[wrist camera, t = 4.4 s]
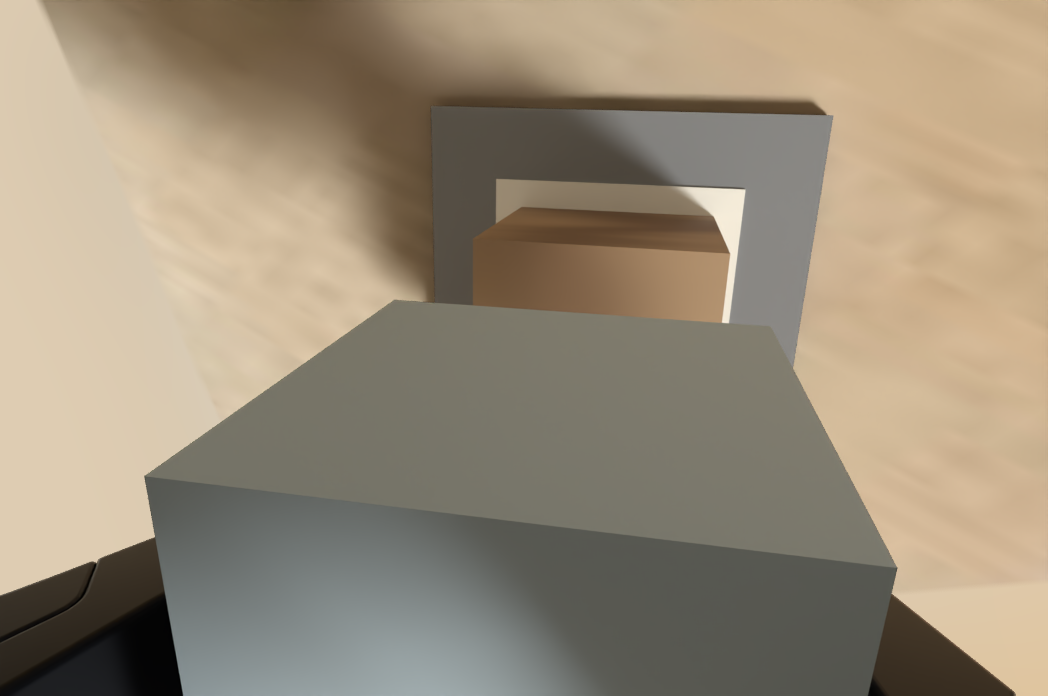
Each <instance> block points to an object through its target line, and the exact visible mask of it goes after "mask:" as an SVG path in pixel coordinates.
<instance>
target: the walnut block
mask: <svg viewBox="0 0 1048 696" xmlns="http://www.w3.org/2000/svg"><path fill="white" fill-rule="evenodd" d="M729 260H730V252H729V250H728V247H727V245H726V243H725V241H724V238H723V236H722V234H721V232H720V230H719V227H718V225H717V223H716V221H715V218H714V216H696V215H675V214H655V213H635V212H614V211H594V210H574V209H553V208H533V207H521V208H519V209H518V210H516V211H515V212H513V213H511V214H510V215H508V216H507V217H505V218H504V219H502V220H501V221H499V222H498V223H496V224H495V225H493V226H492V227H490V228H489V229H487V230H486V231H484V232H482V233H481V234H479V235H478V236H476V237H475V238H473V305H474V306H488V307H502V308H516V309H531V310H545V311H559V312H573V313H588V314H602V315H616V316H630V317H645V318H659V319H673V320H687V321H702V322H716V323H722V318H723V310H724V302H725V293H726V285H727V277H728V269H729Z"/></svg>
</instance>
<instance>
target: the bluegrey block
mask: <svg viewBox="0 0 1048 696" xmlns="http://www.w3.org/2000/svg"><path fill="white" fill-rule="evenodd" d="M145 483H146V488H147V493H148V499H149V505H150V511H151V516H152V521H153V527H154V533H155V539H156V545H157V550H158V556H159V562H160V567H161V573H162V578H163V584H164V590H165V595H166V601H167V607H168V612H169V618H170V624H171V629H172V635H173V640H174V646H175V652H176V657H177V663H178V669H179V674H180V680H181V686H182V691H183V696H868V692H869V688H870V684H871V679H872V675H873V671H874V666H875V662H876V658H877V653H878V649H879V645H880V641H881V636H882V632H883V628H884V623H885V619H886V615H887V610H888V606H889V602H890V598H891V593H892V589H893V585H894V580H895V576H896V572H897V566H896V564H895V563H894V561H893V559H892V557H891V555H890V553H889V551H888V549H887V547H886V545H885V543H884V542H883V540H882V538H881V536H880V534H879V532H878V530H877V528H876V526H875V524H874V523H873V521H872V519H871V517H870V515H869V513H868V511H867V509H866V507H865V505H864V503H863V502H862V500H861V498H860V496H859V494H858V492H857V490H856V488H855V486H854V484H853V482H852V481H851V479H850V477H849V475H848V473H847V471H846V469H845V467H844V465H843V463H842V461H841V460H840V458H839V456H838V454H837V452H836V450H835V448H834V446H833V444H832V442H831V440H830V439H829V437H828V435H827V433H826V431H825V429H824V427H823V425H822V423H821V421H820V420H819V418H818V416H817V414H816V412H815V410H814V408H813V406H812V404H811V402H810V400H809V399H808V397H807V395H806V393H805V391H804V389H803V387H802V385H801V383H800V381H799V379H798V378H797V376H796V374H795V372H794V370H793V368H792V366H791V364H790V362H789V360H788V358H787V357H786V355H785V353H784V351H783V349H782V347H781V345H780V343H779V341H778V339H777V337H776V336H775V334H774V332H773V330H772V328H771V326H759V325H744V324H730V323H716V322H702V321H687V320H673V319H659V318H645V317H630V316H616V315H602V314H588V313H573V312H559V311H545V310H531V309H516V308H502V307H488V306H474V305H459V304H445V303H431V302H417V301H402V300H394V301H392V302H391V303H389V304H388V305H386V306H385V307H384V308H382V309H381V310H379V311H378V312H377V313H375V314H374V315H372V316H371V317H369V318H368V319H367V320H365V321H364V322H362V323H361V324H359V325H358V326H357V327H355V328H354V329H352V330H351V331H350V332H348V333H347V334H345V335H344V336H342V337H341V338H340V339H338V340H337V341H335V342H334V343H333V344H331V345H330V346H328V347H327V348H325V349H324V350H323V351H321V352H320V353H318V354H317V355H316V356H314V357H313V358H311V359H310V360H308V361H307V362H306V363H304V364H303V365H301V366H300V367H299V368H297V369H296V370H294V371H293V372H291V373H290V374H289V375H287V376H286V377H284V378H283V379H281V380H280V381H279V382H277V383H276V384H274V385H273V386H272V387H270V388H269V389H267V390H266V391H264V392H263V393H262V394H260V395H259V396H257V397H256V398H255V399H253V400H252V401H250V402H249V403H247V404H246V405H245V406H243V407H242V408H240V409H239V410H238V411H236V412H235V413H233V414H232V415H230V416H229V417H228V418H226V419H225V420H223V421H222V422H221V423H219V424H218V425H216V426H215V427H213V428H212V429H211V430H209V431H208V432H206V433H205V434H203V435H202V436H201V437H199V438H198V439H197V440H195V441H194V442H192V443H191V444H189V445H188V446H187V447H185V448H184V449H182V450H181V451H179V452H178V453H177V454H175V455H174V456H172V457H171V458H170V459H168V460H167V461H165V462H164V463H162V464H161V465H160V466H158V467H157V468H155V469H154V470H152V471H151V472H150V473H148V474H147V475H145Z"/></svg>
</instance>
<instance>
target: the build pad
mask: <svg viewBox="0 0 1048 696" xmlns="http://www.w3.org/2000/svg"><path fill="white" fill-rule="evenodd" d="M832 120H833V116H832V115H790V114H748V113H707V112H665V111H623V110H581V109H539V108H497V107H456V106H431V137H432V186H433V236H434V285H435V303H445V304H459V305H473V238H475V237H476V236H478V235H479V234H481V233H482V232H484V231H486V230H487V229H489V228H490V227H492V226H493V225H495V224H496V223H498V222H499V221H501V220H502V219H504V218H505V217H507V216H508V215H510V214H511V213H513V212H515V211H516V210H518V209H519V208H521V207H533V208H553V209H574V210H594V211H614V212H635V213H655V214H675V215H696V216H714V218H715V221H716V223H717V225H718V227H719V230H720V232H721V234H722V236H723V238H724V241H725V243H726V245H727V247H728V250H729V252H730V260H729V269H728V277H727V285H726V293H725V302H724V310H723V318H722V323H730V324H744V325H759V326H771V328H772V330H773V332H774V334H775V336H776V337H777V339H778V341H779V343H780V345H781V347H782V349H783V351H784V353H785V355H786V357H787V358H788V360H789V362H790V364H791V366H792V368H793V364H794V358H795V352H796V346H797V339H798V333H799V327H800V321H801V314H802V308H803V302H804V296H805V289H806V283H807V277H808V271H809V264H810V258H811V252H812V246H813V239H814V233H815V227H816V221H817V214H818V208H819V202H820V196H821V189H822V183H823V177H824V171H825V164H826V158H827V152H828V145H829V139H830V133H831V127H832Z"/></svg>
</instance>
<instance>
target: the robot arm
mask: <svg viewBox="0 0 1048 696" xmlns="http://www.w3.org/2000/svg"><path fill="white" fill-rule="evenodd" d="M0 696H183V691H182V686H181V680H180V674H179V669H178V663H177V657H176V652H175V646H174V640H173V635H172V629H171V624H170V618H169V612H168V607H167V601H166V595H165V590H164V584H163V578H162V573H161V567H160V562H159V556H158V550H157V545H156V539H155V537H154V538H151V539H149V540H146V541H144V542H141V543H139V544H136V545H133V546H131V547H128V548H125V549H123V550H120V551H118V552H115V553H113V554H110V555H107V556H105V557H102V558H100V559H99V560H98V562H97V564H96V562H89V563H86V564H84V565H81V566H78V567H76V568H73V569H71V570H68V571H65V572H63V573H60V574H58V575H55V576H52V577H50V578H47V579H44V580H41V581H39V582H36V583H33V584H31V585H28V586H25V587H23V588H20V589H17V590H14V591H12V592H9V593H6V594H3V595H0ZM868 696H1016V694H1015V692H1014V691H1012V690H1011V689H1010V688H1009V687H1007V686H1006V685H1005V684H1004V683H1002V682H1001V681H1000V680H999V679H997V678H996V677H995V676H994V675H993V674H991V673H990V672H989V671H988V670H986V669H985V668H984V667H983V666H981V665H980V664H979V663H978V662H976V661H975V660H974V659H973V658H971V657H970V656H969V655H968V654H966V653H965V652H964V651H962V650H961V649H960V648H959V647H957V646H956V645H955V644H954V643H953V642H951V641H950V640H949V639H947V638H946V637H945V636H944V635H942V634H941V633H940V632H939V631H938V630H936V629H935V628H934V627H932V626H931V625H930V624H929V623H928V622H926V621H925V620H924V619H923V618H921V617H920V616H919V615H918V614H916V613H915V612H914V611H913V610H911V609H910V608H909V607H908V606H906V605H905V604H904V603H903V602H901V601H900V600H899V599H898V598H896V597H895V596H894V595H893V594H891V598H890V602H889V606H888V610H887V615H886V619H885V623H884V628H883V632H882V636H881V641H880V645H879V649H878V653H877V658H876V662H875V666H874V671H873V675H872V679H871V684H870V688H869V692H868Z"/></svg>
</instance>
